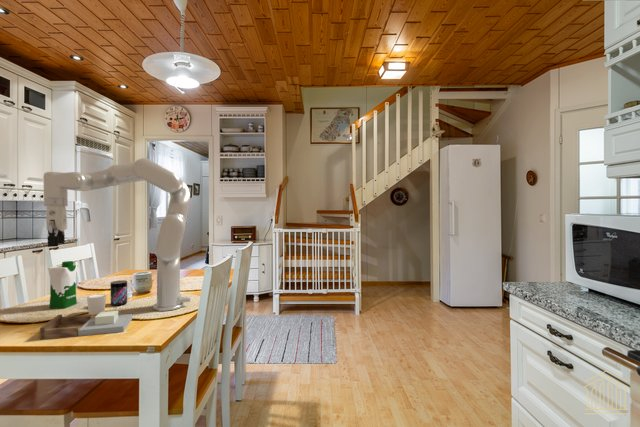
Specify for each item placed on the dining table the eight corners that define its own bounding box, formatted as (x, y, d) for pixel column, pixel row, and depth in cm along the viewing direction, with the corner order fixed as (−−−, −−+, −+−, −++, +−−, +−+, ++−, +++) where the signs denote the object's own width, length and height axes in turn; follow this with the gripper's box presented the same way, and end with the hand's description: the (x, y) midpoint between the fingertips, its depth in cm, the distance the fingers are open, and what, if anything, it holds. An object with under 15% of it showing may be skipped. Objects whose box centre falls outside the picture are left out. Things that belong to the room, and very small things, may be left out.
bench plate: (132, 318, 134) (132, 314, 134) (123, 331, 121) (123, 326, 121) (91, 322, 130) (91, 317, 130) (78, 335, 116) (78, 330, 116)
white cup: (110, 310, 144) (110, 294, 144) (98, 315, 138) (98, 298, 137) (95, 309, 145) (95, 293, 145) (82, 314, 138) (82, 298, 138)
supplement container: (107, 306, 149) (107, 283, 149) (115, 302, 156) (115, 280, 156) (122, 306, 150) (122, 283, 149) (130, 302, 156) (130, 280, 156)
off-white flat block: (118, 318, 129) (118, 310, 129) (113, 323, 123) (113, 315, 123) (100, 319, 127) (100, 311, 127) (95, 325, 121) (95, 317, 121)
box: (90, 322, 130) (90, 312, 129) (77, 336, 116) (77, 324, 116) (58, 325, 126) (58, 314, 126) (40, 339, 113) (40, 327, 113)
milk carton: (65, 309, 145) (65, 263, 144) (45, 308, 145) (44, 263, 145) (80, 303, 154) (80, 260, 153) (61, 302, 154) (61, 259, 153)
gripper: (61, 202, 128) (62, 247, 128) (72, 202, 143) (72, 242, 144) (36, 202, 124) (37, 248, 125) (50, 202, 140) (51, 243, 141)
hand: (56, 244), depth 134 cm, fingers open, 9 cm apart
